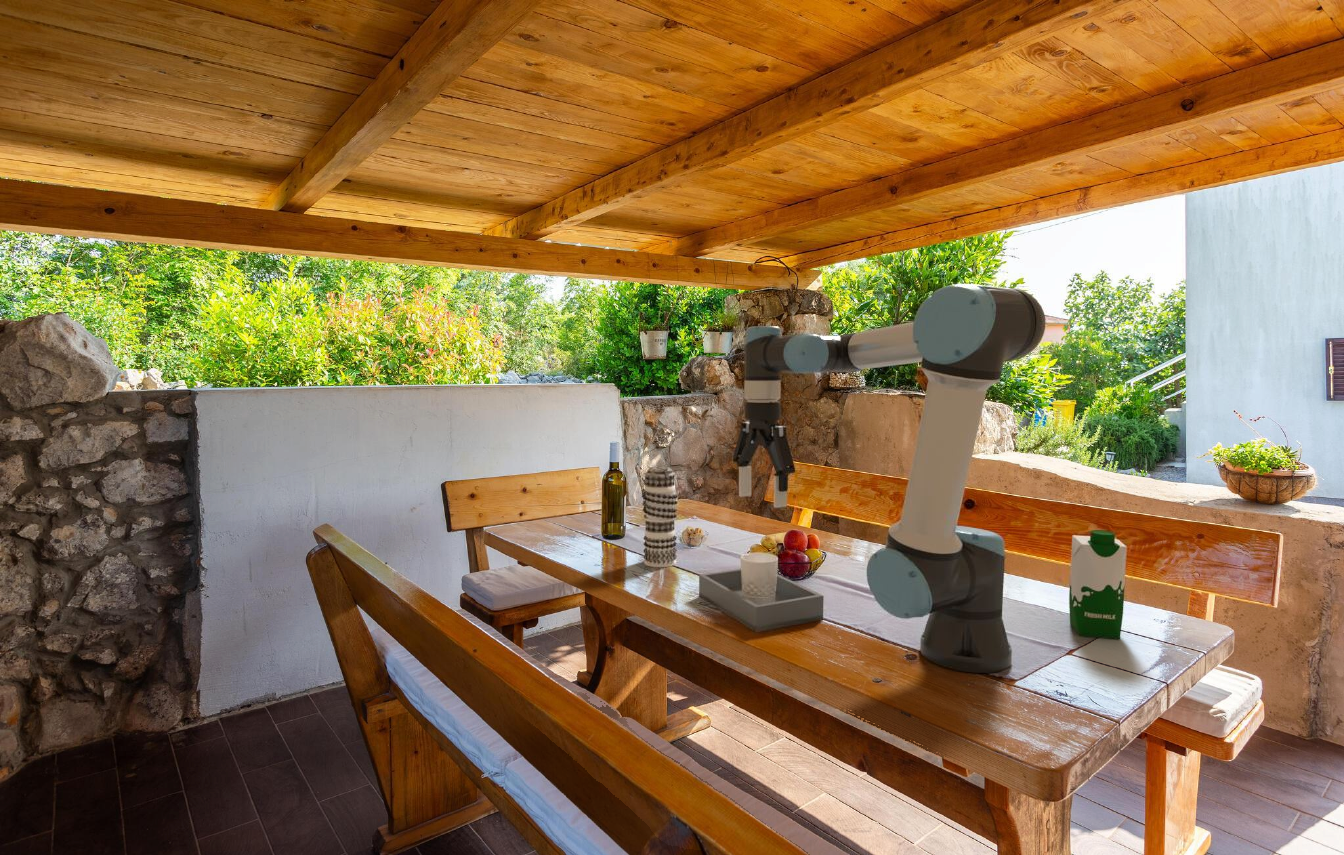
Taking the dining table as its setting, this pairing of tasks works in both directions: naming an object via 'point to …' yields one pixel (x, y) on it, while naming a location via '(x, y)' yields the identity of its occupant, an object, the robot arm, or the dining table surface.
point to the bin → (787, 609)
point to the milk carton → (1097, 584)
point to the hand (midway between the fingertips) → (762, 501)
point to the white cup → (759, 577)
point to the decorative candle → (659, 517)
